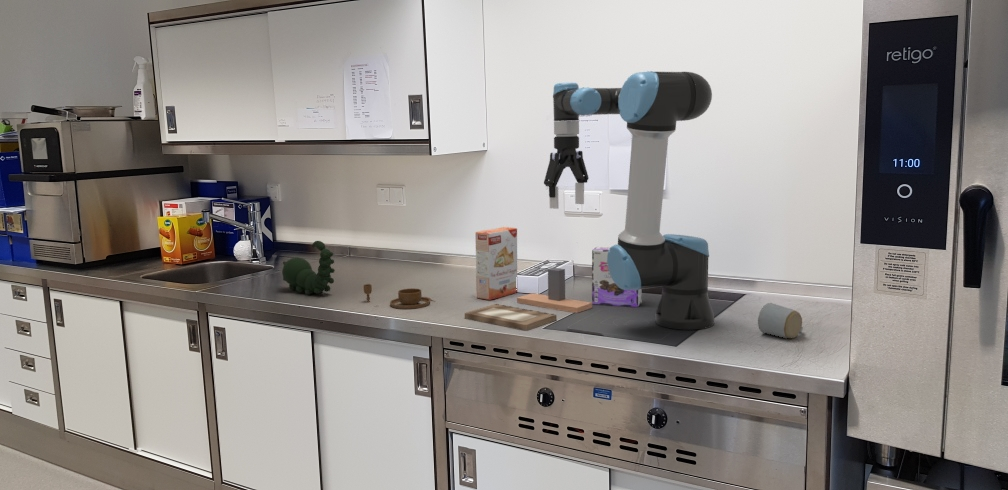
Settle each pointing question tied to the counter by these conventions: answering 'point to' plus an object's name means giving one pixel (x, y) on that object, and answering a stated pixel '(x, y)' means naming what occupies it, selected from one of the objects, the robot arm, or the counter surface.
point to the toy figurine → (309, 272)
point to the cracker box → (496, 262)
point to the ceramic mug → (779, 321)
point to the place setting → (404, 298)
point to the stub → (555, 295)
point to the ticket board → (510, 316)
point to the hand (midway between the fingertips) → (567, 206)
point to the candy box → (609, 284)
